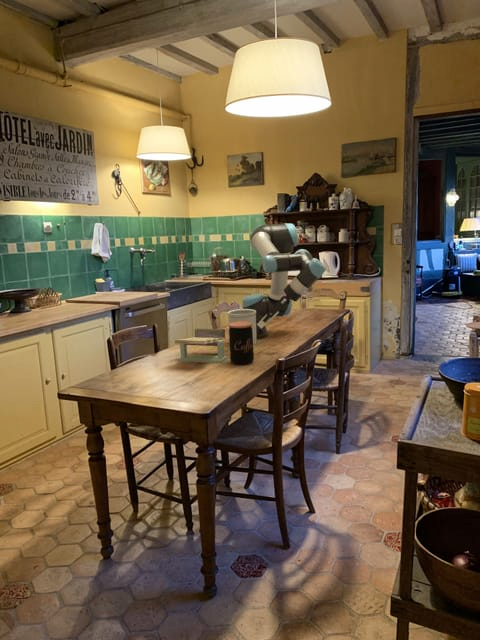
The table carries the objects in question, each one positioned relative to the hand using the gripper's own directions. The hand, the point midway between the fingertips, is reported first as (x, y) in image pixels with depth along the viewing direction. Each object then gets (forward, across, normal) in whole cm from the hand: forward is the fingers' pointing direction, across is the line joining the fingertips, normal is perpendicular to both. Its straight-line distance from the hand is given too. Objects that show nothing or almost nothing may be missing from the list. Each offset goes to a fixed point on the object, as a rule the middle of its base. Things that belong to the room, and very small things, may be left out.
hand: (263, 323), depth 219 cm
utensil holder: (+28, +33, +2) cm, 43 cm away
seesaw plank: (+30, 0, +14) cm, 33 cm away
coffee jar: (+21, 0, -6) cm, 22 cm away
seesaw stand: (+35, +1, +9) cm, 36 cm away
